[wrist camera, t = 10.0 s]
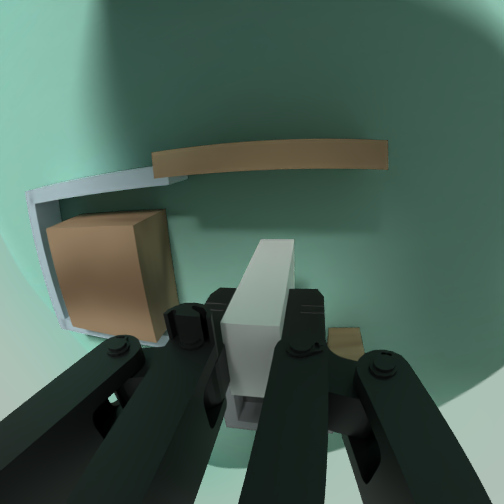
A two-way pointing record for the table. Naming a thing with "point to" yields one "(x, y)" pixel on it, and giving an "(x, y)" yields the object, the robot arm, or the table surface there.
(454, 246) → the table surface
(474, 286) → the table surface
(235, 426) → the trap pit
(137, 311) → the block
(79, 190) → the dock
